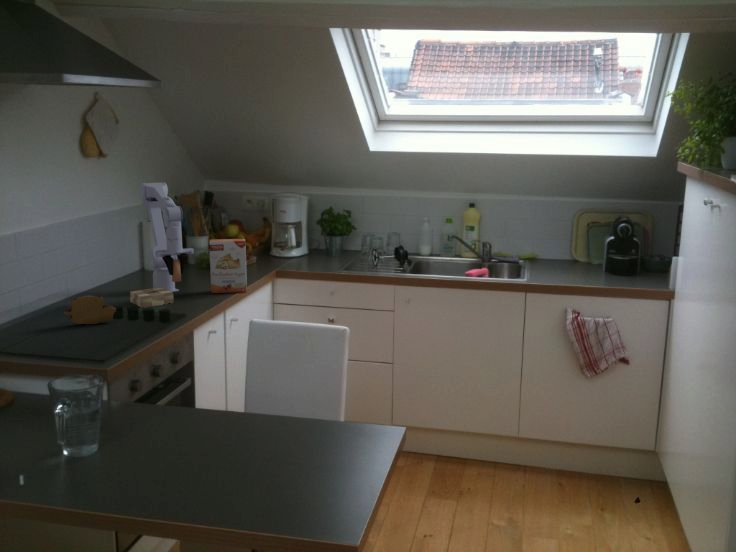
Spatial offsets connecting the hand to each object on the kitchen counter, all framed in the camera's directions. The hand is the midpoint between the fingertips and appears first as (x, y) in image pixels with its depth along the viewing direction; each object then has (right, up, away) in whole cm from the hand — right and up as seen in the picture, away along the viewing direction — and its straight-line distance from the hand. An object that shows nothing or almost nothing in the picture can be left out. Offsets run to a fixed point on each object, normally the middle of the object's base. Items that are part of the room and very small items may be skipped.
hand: (176, 274), depth 283 cm
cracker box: (+18, -7, +13) cm, 23 cm away
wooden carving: (-19, -17, -36) cm, 44 cm away
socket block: (-8, -11, -5) cm, 14 cm away
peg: (0, -3, 0) cm, 3 cm away
